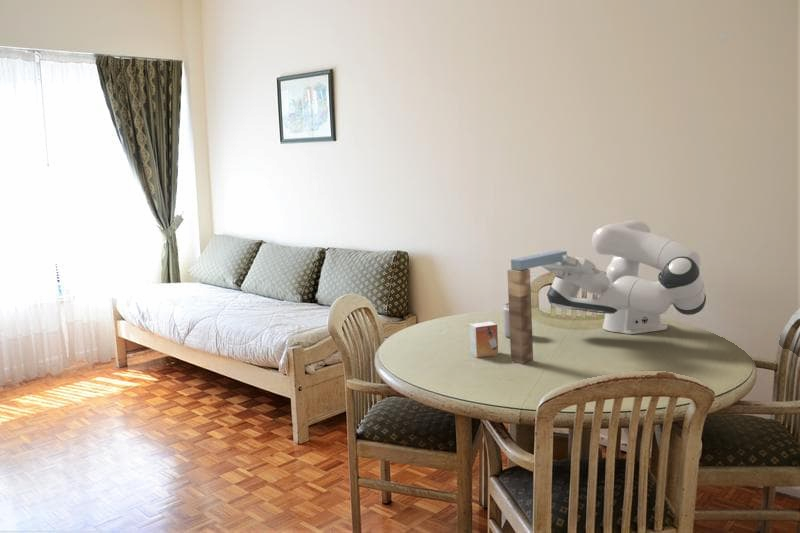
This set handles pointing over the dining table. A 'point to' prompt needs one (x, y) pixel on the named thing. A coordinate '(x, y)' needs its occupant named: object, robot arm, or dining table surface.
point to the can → (506, 320)
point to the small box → (484, 339)
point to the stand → (520, 315)
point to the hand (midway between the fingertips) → (552, 255)
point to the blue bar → (537, 260)
